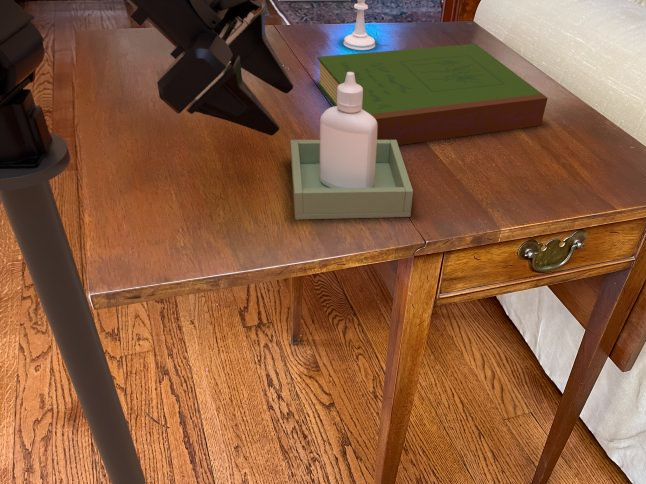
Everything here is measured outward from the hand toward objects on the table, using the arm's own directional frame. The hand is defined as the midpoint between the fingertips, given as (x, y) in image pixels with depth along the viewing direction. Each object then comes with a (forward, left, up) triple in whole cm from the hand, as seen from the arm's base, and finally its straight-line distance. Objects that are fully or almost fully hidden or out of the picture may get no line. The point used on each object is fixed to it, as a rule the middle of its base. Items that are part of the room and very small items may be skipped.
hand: (283, 110), depth 62 cm
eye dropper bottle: (+6, -1, -8) cm, 10 cm away
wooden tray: (+6, -1, -8) cm, 11 cm away
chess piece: (+12, +41, -9) cm, 44 cm away
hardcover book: (+19, +20, -9) cm, 29 cm away
